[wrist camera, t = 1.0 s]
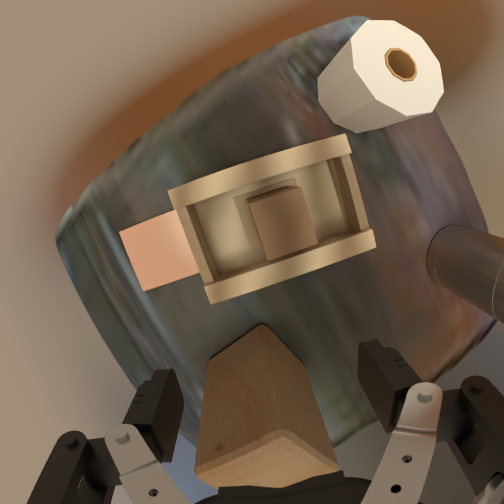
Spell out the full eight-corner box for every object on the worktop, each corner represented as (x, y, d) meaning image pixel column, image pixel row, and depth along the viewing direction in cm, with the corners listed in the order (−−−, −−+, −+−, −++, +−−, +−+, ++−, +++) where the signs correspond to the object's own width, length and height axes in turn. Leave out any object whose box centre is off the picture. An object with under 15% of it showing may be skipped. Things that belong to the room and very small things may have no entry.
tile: (178, 208, 34) (177, 208, 33) (202, 270, 36) (201, 271, 35) (120, 231, 34) (119, 232, 34) (144, 289, 36) (143, 291, 36)
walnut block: (285, 185, 32) (301, 186, 24) (299, 229, 33) (318, 243, 25) (246, 198, 32) (248, 204, 24) (260, 242, 33) (268, 260, 25)
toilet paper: (402, 100, 32) (457, 78, 20) (359, 149, 33) (411, 138, 22) (348, 46, 30) (387, 4, 18) (299, 92, 32) (327, 53, 20)
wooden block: (205, 359, 39) (188, 478, 19) (262, 318, 38) (285, 434, 18) (251, 400, 41) (260, 512, 21) (306, 365, 40) (346, 475, 20)
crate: (325, 142, 33) (345, 133, 26) (353, 235, 36) (376, 247, 29) (180, 189, 34) (167, 190, 27) (215, 282, 36) (211, 304, 30)
